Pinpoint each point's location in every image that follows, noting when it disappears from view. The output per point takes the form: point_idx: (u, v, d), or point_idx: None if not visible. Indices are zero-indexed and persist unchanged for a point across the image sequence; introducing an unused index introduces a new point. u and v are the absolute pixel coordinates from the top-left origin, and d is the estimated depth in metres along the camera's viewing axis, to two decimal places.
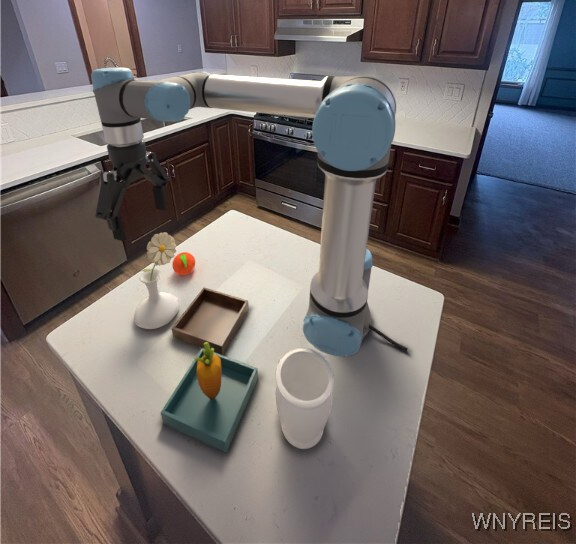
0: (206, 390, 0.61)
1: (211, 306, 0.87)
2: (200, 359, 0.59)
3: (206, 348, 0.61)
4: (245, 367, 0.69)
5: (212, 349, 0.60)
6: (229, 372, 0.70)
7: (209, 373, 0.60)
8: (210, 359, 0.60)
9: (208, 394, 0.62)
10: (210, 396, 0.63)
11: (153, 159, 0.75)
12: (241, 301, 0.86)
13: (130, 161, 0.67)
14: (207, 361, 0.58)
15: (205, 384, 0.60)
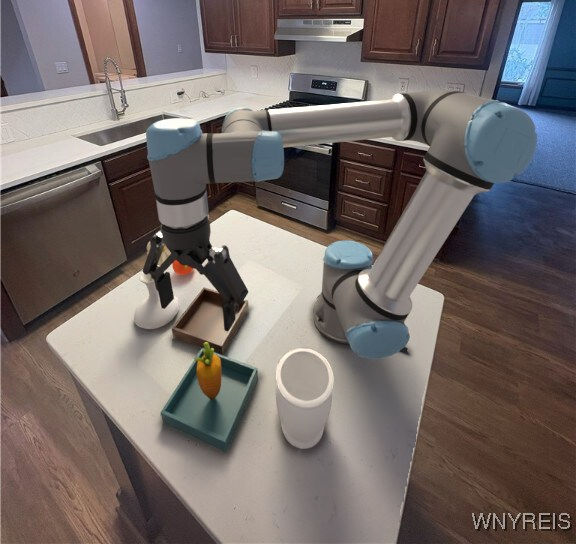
0: (206, 390, 0.61)
1: (211, 306, 0.87)
2: (200, 359, 0.59)
3: (206, 348, 0.61)
4: (245, 367, 0.69)
5: (212, 349, 0.60)
6: (229, 372, 0.70)
7: (209, 373, 0.60)
8: (210, 359, 0.60)
9: (208, 394, 0.62)
10: (210, 396, 0.63)
11: (215, 262, 0.49)
12: None
13: None
14: (207, 361, 0.58)
15: (205, 384, 0.60)
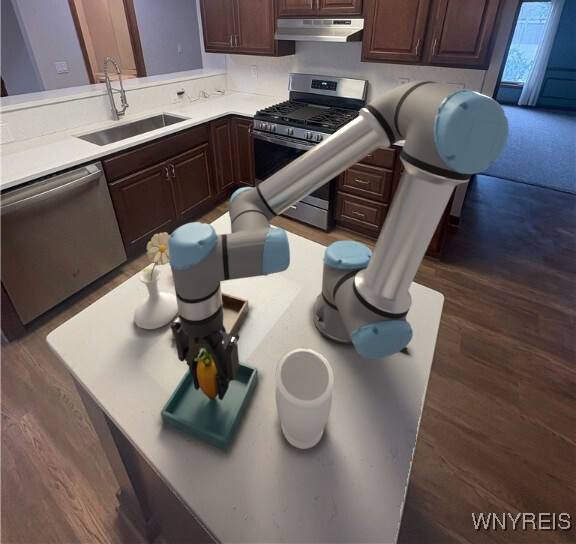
0: (206, 390, 0.61)
1: None
2: (200, 359, 0.59)
3: None
4: (245, 367, 0.69)
5: None
6: None
7: (209, 373, 0.60)
8: (210, 359, 0.60)
9: (208, 394, 0.62)
10: (210, 396, 0.63)
11: (226, 349, 0.56)
12: (241, 301, 0.86)
13: None
14: (207, 361, 0.58)
15: (205, 384, 0.60)
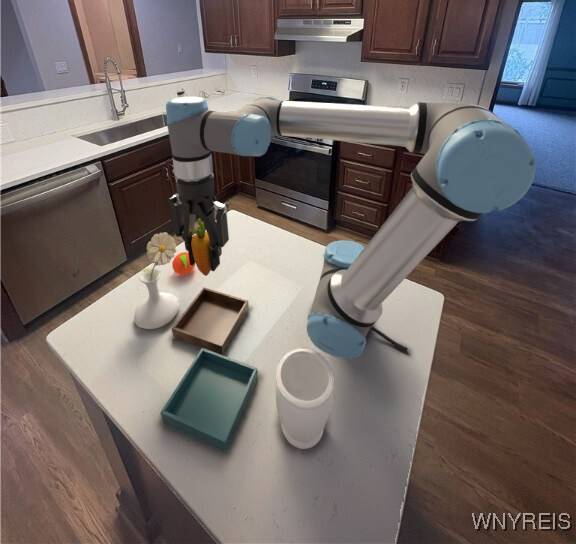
0: (200, 260, 0.69)
1: (211, 306, 0.87)
2: (194, 230, 0.68)
3: (199, 223, 0.69)
4: (245, 367, 0.69)
5: None
6: (229, 372, 0.70)
7: (202, 243, 0.68)
8: (203, 232, 0.69)
9: (201, 266, 0.70)
10: (203, 269, 0.71)
11: (217, 213, 0.64)
12: (241, 301, 0.86)
13: (178, 193, 0.63)
14: (200, 229, 0.66)
15: (199, 253, 0.68)
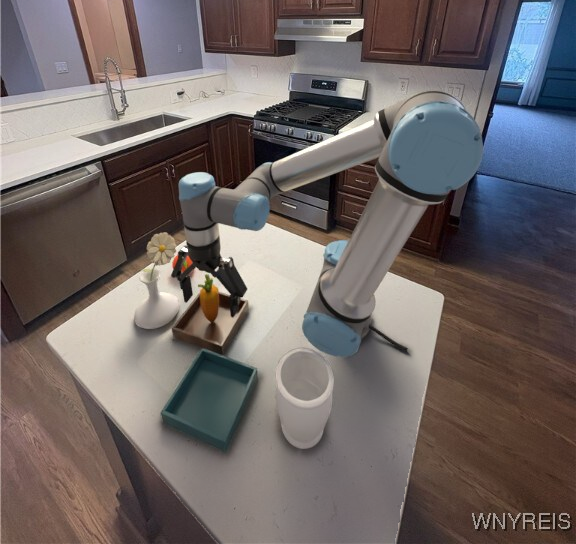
0: (207, 311, 0.78)
1: None
2: (202, 286, 0.76)
3: (207, 278, 0.78)
4: (245, 367, 0.69)
5: (211, 279, 0.77)
6: (229, 372, 0.70)
7: (209, 297, 0.77)
8: (210, 286, 0.77)
9: (208, 315, 0.79)
10: (210, 318, 0.80)
11: (224, 268, 0.72)
12: (241, 301, 0.86)
13: (188, 254, 0.71)
14: (208, 286, 0.75)
15: (206, 306, 0.77)
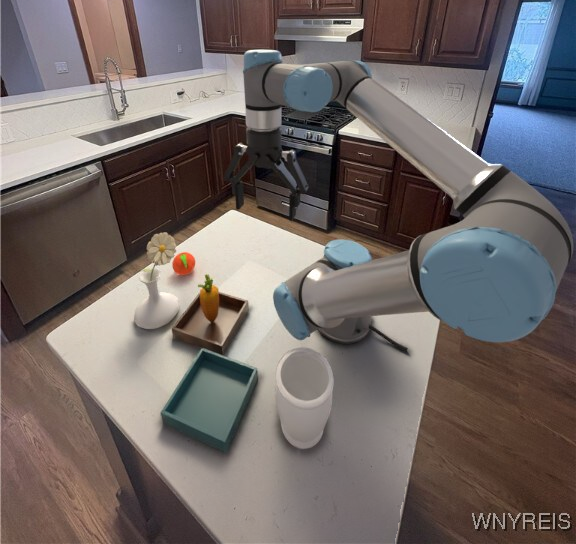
0: (207, 311, 0.78)
1: None
2: (202, 286, 0.76)
3: (207, 278, 0.78)
4: (245, 367, 0.69)
5: (211, 279, 0.77)
6: (229, 372, 0.70)
7: (209, 297, 0.77)
8: (210, 286, 0.77)
9: (208, 315, 0.79)
10: (210, 318, 0.80)
11: (287, 160, 0.66)
12: (241, 301, 0.86)
13: (248, 144, 0.66)
14: (208, 286, 0.75)
15: (206, 306, 0.77)
